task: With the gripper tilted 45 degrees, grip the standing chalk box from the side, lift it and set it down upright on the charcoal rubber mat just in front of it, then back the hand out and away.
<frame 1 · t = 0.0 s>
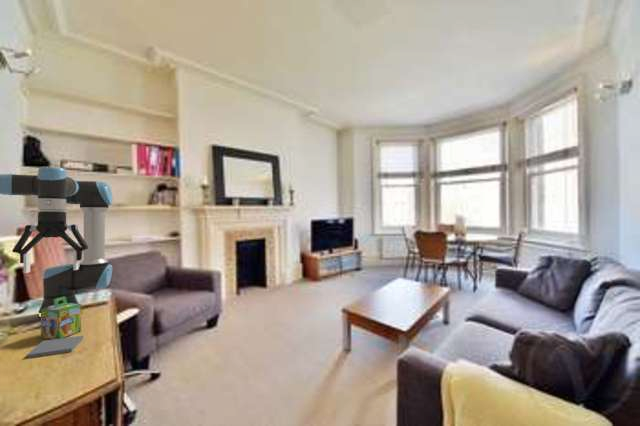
hand: (52, 271, 106), 28 cm above the table, tool pointing down, fingers open, 13 cm apart
charcoal mat: (56, 347, 108), on the table
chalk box: (61, 335, 119), on the table
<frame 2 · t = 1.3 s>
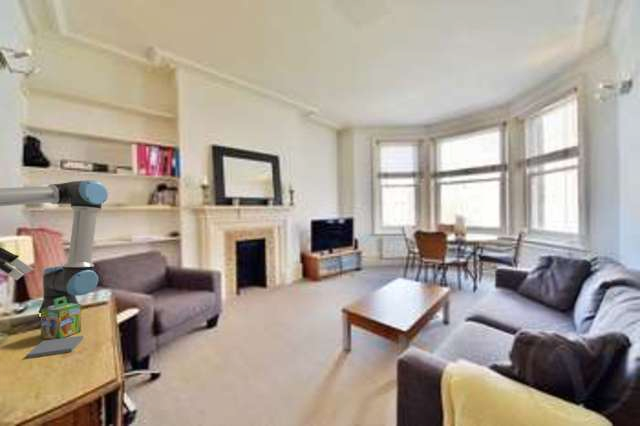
hand: (25, 274, 113), 25 cm above the table, tool tilted 45°, fingers open, 13 cm apart
nothing on the table moved.
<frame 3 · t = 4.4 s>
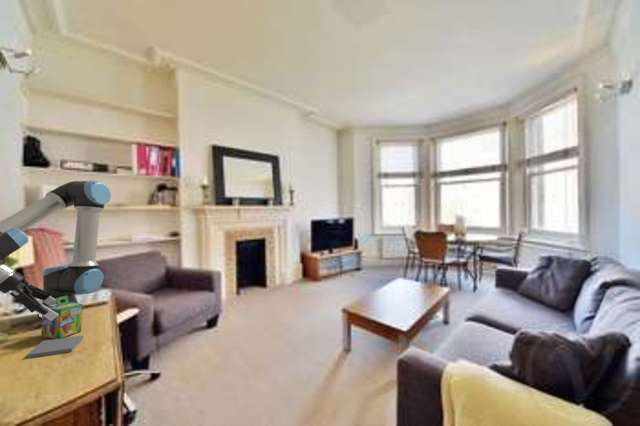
hand: (58, 312, 118), 9 cm above the table, tool tilted 45°, fingers open, 13 cm apart
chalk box: (61, 334, 119), on the table, touching gripper
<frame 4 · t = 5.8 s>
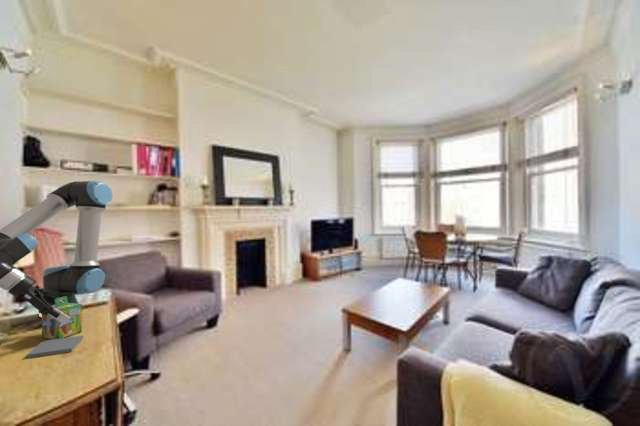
hand: (69, 316, 121), 7 cm above the table, tool tilted 45°, fingers closed on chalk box, 12 cm apart
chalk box: (62, 335, 119), on the table, touching gripper
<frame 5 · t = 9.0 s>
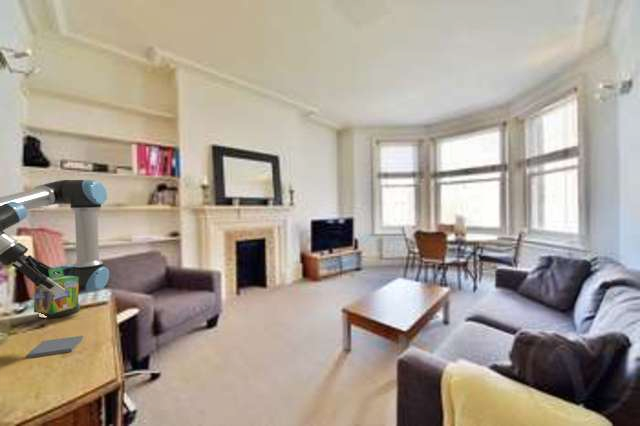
hand: (65, 289, 109), 21 cm above the table, tool tilted 45°, fingers closed on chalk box, 12 cm apart
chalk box: (56, 310, 108), point 13 cm above the table, touching gripper
when the fingers open (9 cm above the table, at t = 12.3 s): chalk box drops 1 cm, resting on charcoal mat.
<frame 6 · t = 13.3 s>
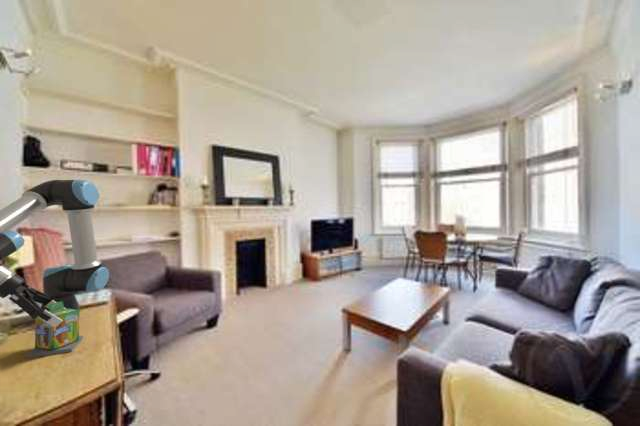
hand: (62, 318, 108), 10 cm above the table, tool tilted 45°, fingers open, 13 cm apart
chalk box: (57, 344, 108), point 1 cm above the table, touching charcoal mat, gripper
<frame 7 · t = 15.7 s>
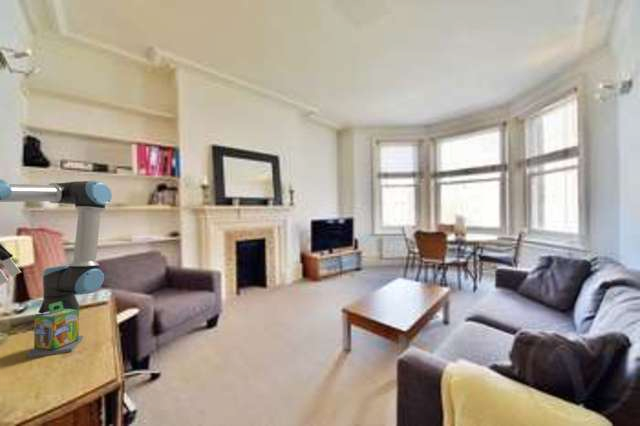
hand: (10, 278, 108), 25 cm above the table, tool tilted 25°, fingers open, 13 cm apart
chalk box: (57, 344, 108), point 1 cm above the table, touching charcoal mat
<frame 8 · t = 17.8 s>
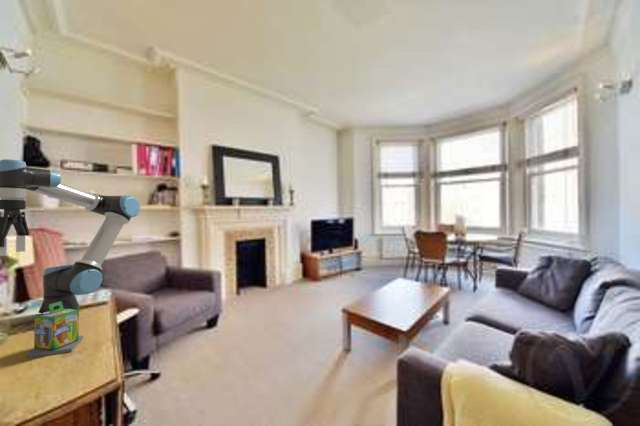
hand: (12, 253, 117), 33 cm above the table, tool pointing down, fingers open, 13 cm apart
nothing on the table moved.
at the end: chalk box inside the target area on the charcoal mat (0.2 cm from its centre), point 1.0 cm above the charcoal mat's base; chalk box tilted 0°; the gripper is holding nothing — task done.
